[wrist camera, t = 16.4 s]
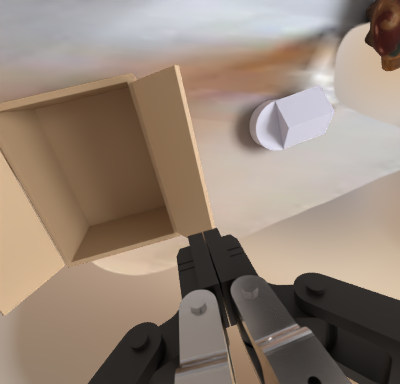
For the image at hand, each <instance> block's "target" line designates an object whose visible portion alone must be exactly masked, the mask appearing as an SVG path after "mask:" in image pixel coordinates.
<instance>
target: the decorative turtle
mask: <svg viewBox="0 0 400 384" xmlns="http://www.w3.org/2000/svg"><path fill="white" fill-rule="evenodd" d="M366 16H367V17H368V19H369V20H370V31H369V32H368V34H367V36H366V38H365V42H366V43H367V44H368V45H369V46H371V47H373V48H374V49H375V50H376V52H377V53H378V54H379V55H380V56H381V60H382V69H383V70H385V71H393V70H396V69H398V68H400V0H376V1H375V2H374V3H373V4H372V5H371V6H370V7H369V8H368V9H367V11H366Z"/></svg>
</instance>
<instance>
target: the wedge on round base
mask: <svg viewBox="0 0 400 384" xmlns="http://www.w3.org/2000/svg"><path fill="white" fill-rule="evenodd" d="M334 112H335V111H334V109H333V107H332V106H331V104H330V102H329V100H328V99H327V97H326V95H325V93H324V92H323V90H322V88H321V86H320V85H318V86H315V87H312V88H310V89H307V90H304V91H301V92H299V93H296V94H293V95H290V96H288V97H285V98H282V99H279V100H268V101H265V102H263V103H262V104H260V105H259V106H258V107H257V108H256V109H255V111H254V112H253V114H252V116H251V119H250V124H249V129H250V134H251V136H252V138H253V140H254V141H255V142H256V143H257V144H259V145H261V146H263V147H265V148H267V149H270V150H282V149H285V148H288V147H291V146H293V145H296V144H299V143H301V142H304V141H307V140H310V139H312V138H315V137H318V136H320V135H323V134H325V132H326V130H327V127H328V125H329V123H330V121H331V119H332V116H333V114H334Z"/></svg>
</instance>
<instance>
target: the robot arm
mask: <svg viewBox="0 0 400 384" xmlns="http://www.w3.org/2000/svg"><path fill="white" fill-rule="evenodd" d="M203 235H204V237H203ZM188 239H189V244H190V246H188V247H185V248H181V249H180V250H179V252H178V255H177V264H178V271H179V280H180V287H181V295H182V301H181V303H180V306H179V310H178V312H177V313H176V314H175V315H174V316H173V317H172V318H171V319H169V320H168V321H166V322H165V323H163V324H162V325H160V326H159V327H158V326H157V325H156V324H154V323H151V322H146V323H141V324H139V325H136V326H135V327H133V328H132V329H131V330H129V331H128V332H127V334H126V335H125V336H124V337H123V339H122V340H121V341H120V342H119V344H118V345H117V346H116V348H115V349H114V350H113V352H112V353H111V354H110V355H109V357H108V358H107V359H106V361H105V362H104V364H103V365H102V366H101V367H100V368H99V370H98V371H97V372H96V374H95V375H94V376H93V378H92V379H91V380H90V382H89V383H88V384H237V383H236V377H235V372H234V368H233V363H232V359H231V354H230V349H229V338H228V334H227V330H226V328H227V327H229V322H228V318H227V314H228V317H229V320H230V324H231V326H233V325H236V324H237V326H238V329H239V332H240V336H241V340H242V344H243V347H244V349H245V351H246V353H247V356H248V358H249V360H250V363H251V365H252V367H253V370H254V372H255V374H256V376H257V379H258V381H259V383H260V384H352V383H351V382H350V381H349V380H348V378H350V379H352V380H353V381H355V382H357V383H359V384H400V300H397V299H394V298H391V297H388V296H385V295H382V294H379V293H376V292H373V291H370V290H367V289H364V288H361V287H358V286H355V285H352V284H349V283H346V282H343V281H340V280H337V279H334V278H331V277H328V276H325V275H322V274H318V273H305V274H302V275H300V276H299V277H297V278H296V280H295V281H294V285H274V284H270V283H267V282H266V281H265V280H264V279H263V278H261V277H259V276H258V274H257V273H256V271H255V269H254V267H253V266H252V264H251V262H250V260H249V259H248V257H247V255H246V254H245V252H244V250H243V248H242V247H241V245H240V243H239V241H238V240H237V239H236V238H235V237H233V236H232V235H226V236H223V237H221V235H220V233H219V231H218V229H217V228H214V229H210V230H207V231H203V234H202V232H200V233H197V234H193V235H190V236H188ZM204 239H205V240H204ZM225 308H226V309H225ZM226 311H227V313H226ZM347 377H348V378H347Z"/></svg>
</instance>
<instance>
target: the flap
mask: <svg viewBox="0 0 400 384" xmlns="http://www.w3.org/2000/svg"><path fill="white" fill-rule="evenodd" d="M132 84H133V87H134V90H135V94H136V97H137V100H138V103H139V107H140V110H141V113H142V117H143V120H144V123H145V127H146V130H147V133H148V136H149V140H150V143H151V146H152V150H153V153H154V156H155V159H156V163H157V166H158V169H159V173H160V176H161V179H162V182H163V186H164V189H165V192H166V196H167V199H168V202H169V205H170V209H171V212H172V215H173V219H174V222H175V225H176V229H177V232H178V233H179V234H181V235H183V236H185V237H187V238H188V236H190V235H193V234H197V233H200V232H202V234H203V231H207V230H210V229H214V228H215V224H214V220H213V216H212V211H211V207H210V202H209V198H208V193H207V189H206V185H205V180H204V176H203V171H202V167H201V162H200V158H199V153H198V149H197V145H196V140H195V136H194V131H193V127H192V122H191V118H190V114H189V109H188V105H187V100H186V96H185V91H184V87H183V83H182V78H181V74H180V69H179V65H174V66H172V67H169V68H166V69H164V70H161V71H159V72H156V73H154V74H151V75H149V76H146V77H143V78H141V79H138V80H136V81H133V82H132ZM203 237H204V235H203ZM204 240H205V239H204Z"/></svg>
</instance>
